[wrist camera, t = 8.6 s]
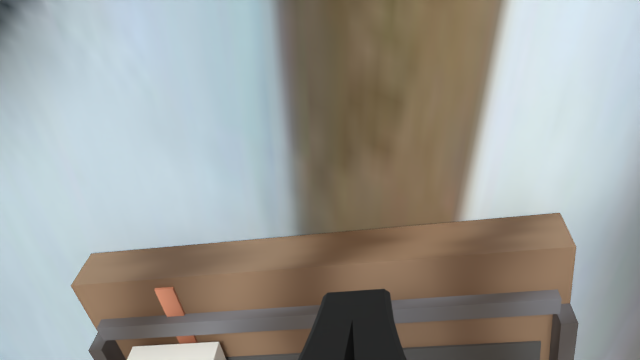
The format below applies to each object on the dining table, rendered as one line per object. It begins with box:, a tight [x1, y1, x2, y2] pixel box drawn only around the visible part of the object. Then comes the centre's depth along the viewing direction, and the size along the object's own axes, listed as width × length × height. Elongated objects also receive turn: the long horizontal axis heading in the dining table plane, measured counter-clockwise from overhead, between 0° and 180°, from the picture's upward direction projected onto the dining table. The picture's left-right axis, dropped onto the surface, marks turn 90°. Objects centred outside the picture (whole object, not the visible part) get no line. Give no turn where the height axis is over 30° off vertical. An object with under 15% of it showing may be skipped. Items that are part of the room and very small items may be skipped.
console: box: [71, 213, 578, 360], centre depth 25 cm, size 20×12×3 cm, turn 100°
